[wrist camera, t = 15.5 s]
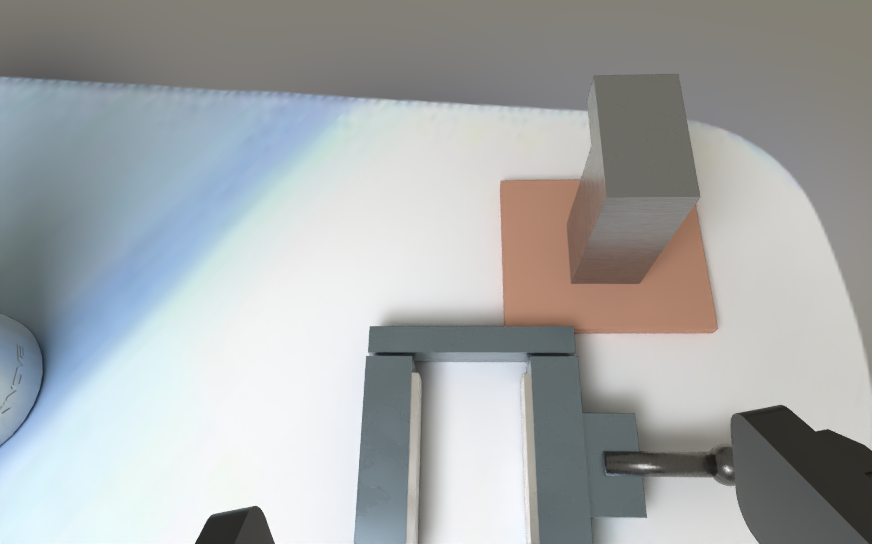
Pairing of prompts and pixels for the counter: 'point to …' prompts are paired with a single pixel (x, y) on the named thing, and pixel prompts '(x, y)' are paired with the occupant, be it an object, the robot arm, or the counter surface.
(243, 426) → the counter surface
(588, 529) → the vise
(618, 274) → the gray rectangular prism
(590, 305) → the mat
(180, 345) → the counter surface
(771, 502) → the robot arm
